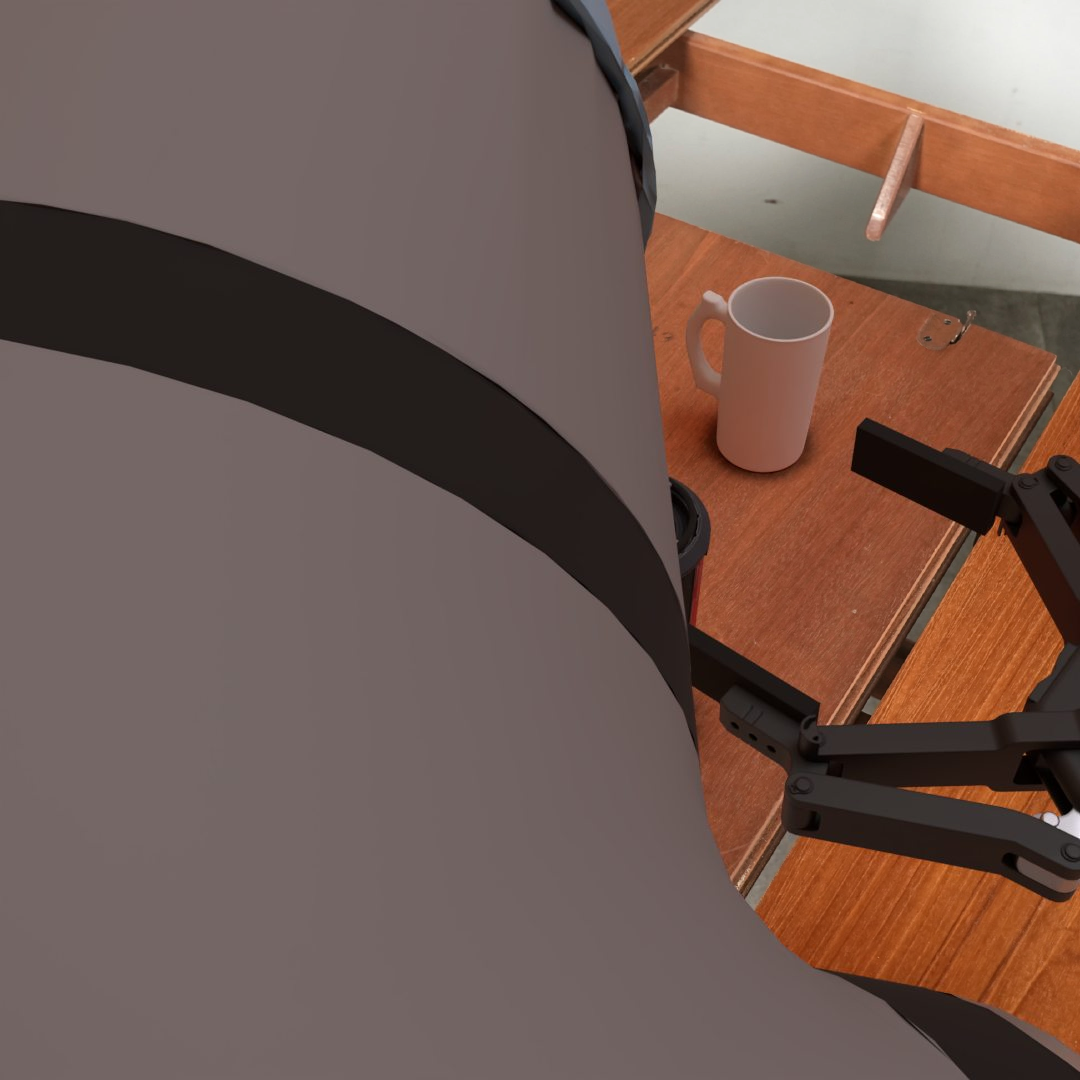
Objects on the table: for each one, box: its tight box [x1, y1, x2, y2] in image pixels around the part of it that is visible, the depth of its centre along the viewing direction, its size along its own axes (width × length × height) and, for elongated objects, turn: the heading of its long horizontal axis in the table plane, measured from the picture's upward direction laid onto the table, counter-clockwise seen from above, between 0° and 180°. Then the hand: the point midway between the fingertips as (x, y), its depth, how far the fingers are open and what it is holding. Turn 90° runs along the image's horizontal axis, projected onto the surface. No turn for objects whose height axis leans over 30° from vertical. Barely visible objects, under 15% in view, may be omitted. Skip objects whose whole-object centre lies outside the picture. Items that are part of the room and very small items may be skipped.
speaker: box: [668, 475, 712, 628], centre depth 64 cm, size 8×8×18 cm
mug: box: [685, 276, 835, 473], centre depth 82 cm, size 10×7×12 cm, turn 53°
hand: (768, 536), depth 50 cm, fingers open, 13 cm apart
